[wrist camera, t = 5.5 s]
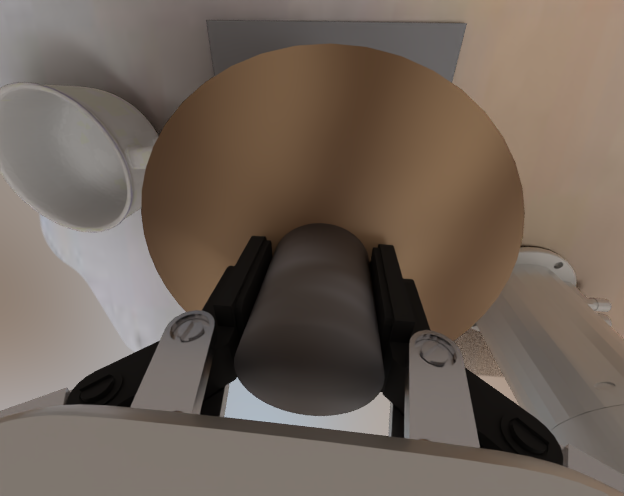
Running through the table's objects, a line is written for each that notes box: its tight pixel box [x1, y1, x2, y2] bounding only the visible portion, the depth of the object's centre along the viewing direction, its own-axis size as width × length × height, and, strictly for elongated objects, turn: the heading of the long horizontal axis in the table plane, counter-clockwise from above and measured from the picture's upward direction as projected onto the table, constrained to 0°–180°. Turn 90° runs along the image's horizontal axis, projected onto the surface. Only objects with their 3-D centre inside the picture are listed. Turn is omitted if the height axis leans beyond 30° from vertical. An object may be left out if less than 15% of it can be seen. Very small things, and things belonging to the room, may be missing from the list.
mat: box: [206, 20, 467, 83], centre depth 26 cm, size 19×19×1 cm
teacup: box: [0, 82, 159, 232], centre depth 24 cm, size 14×11×8 cm
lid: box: [141, 43, 525, 416], centre depth 10 cm, size 15×15×6 cm
